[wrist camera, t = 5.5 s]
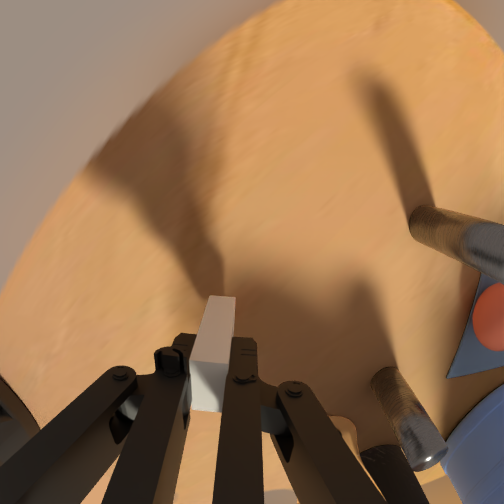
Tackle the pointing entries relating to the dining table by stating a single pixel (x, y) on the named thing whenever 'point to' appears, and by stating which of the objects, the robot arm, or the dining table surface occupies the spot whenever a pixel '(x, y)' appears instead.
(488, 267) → the post
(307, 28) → the dining table surface
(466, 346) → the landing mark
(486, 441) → the water jug
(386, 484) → the travel mug
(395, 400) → the post
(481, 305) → the ball
